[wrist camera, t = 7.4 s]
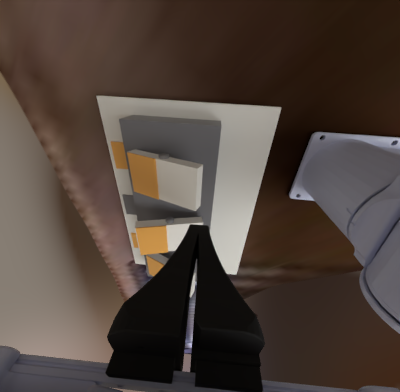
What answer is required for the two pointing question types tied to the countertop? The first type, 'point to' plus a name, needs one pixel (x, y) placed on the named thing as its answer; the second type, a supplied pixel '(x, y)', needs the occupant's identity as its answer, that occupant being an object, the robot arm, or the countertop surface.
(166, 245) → the rocker
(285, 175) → the countertop surface
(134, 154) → the rocker
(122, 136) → the switch unit
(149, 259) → the block
